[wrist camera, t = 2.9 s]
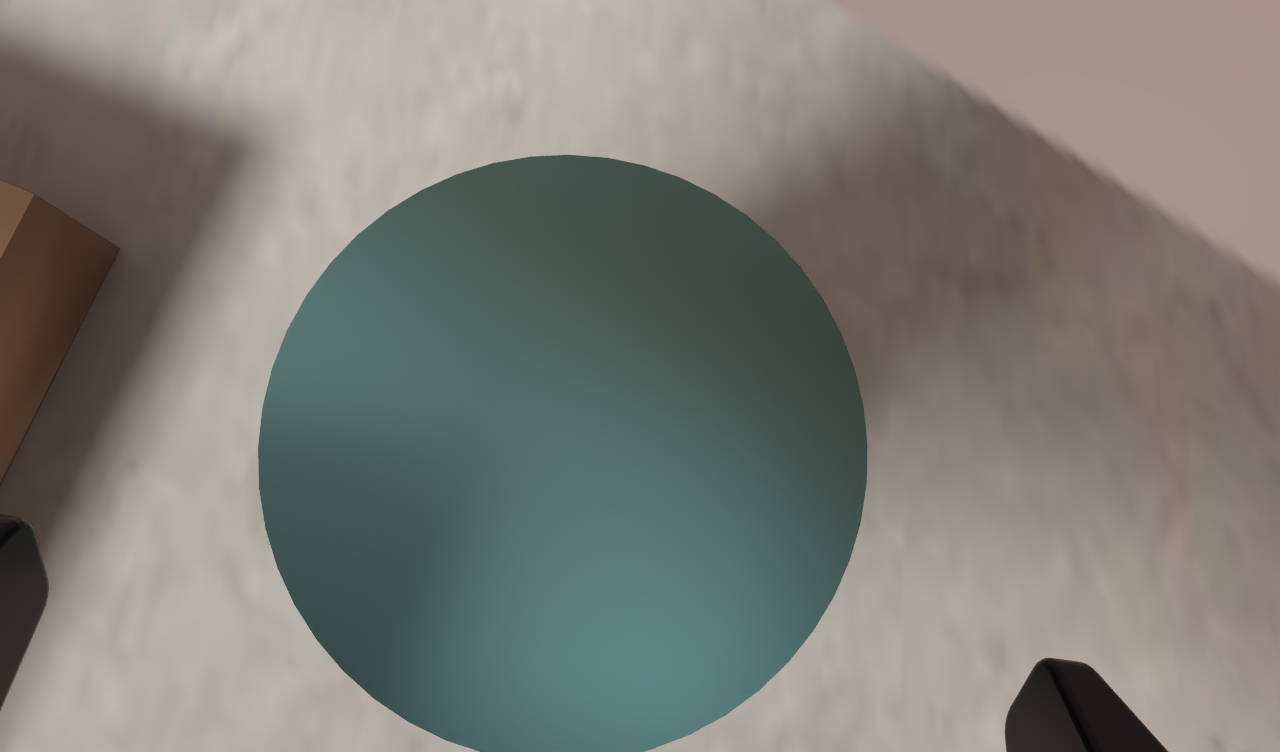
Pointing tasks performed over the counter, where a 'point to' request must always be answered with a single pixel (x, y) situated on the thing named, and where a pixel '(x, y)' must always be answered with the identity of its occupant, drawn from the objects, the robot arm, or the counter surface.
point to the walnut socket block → (40, 302)
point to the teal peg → (562, 457)
